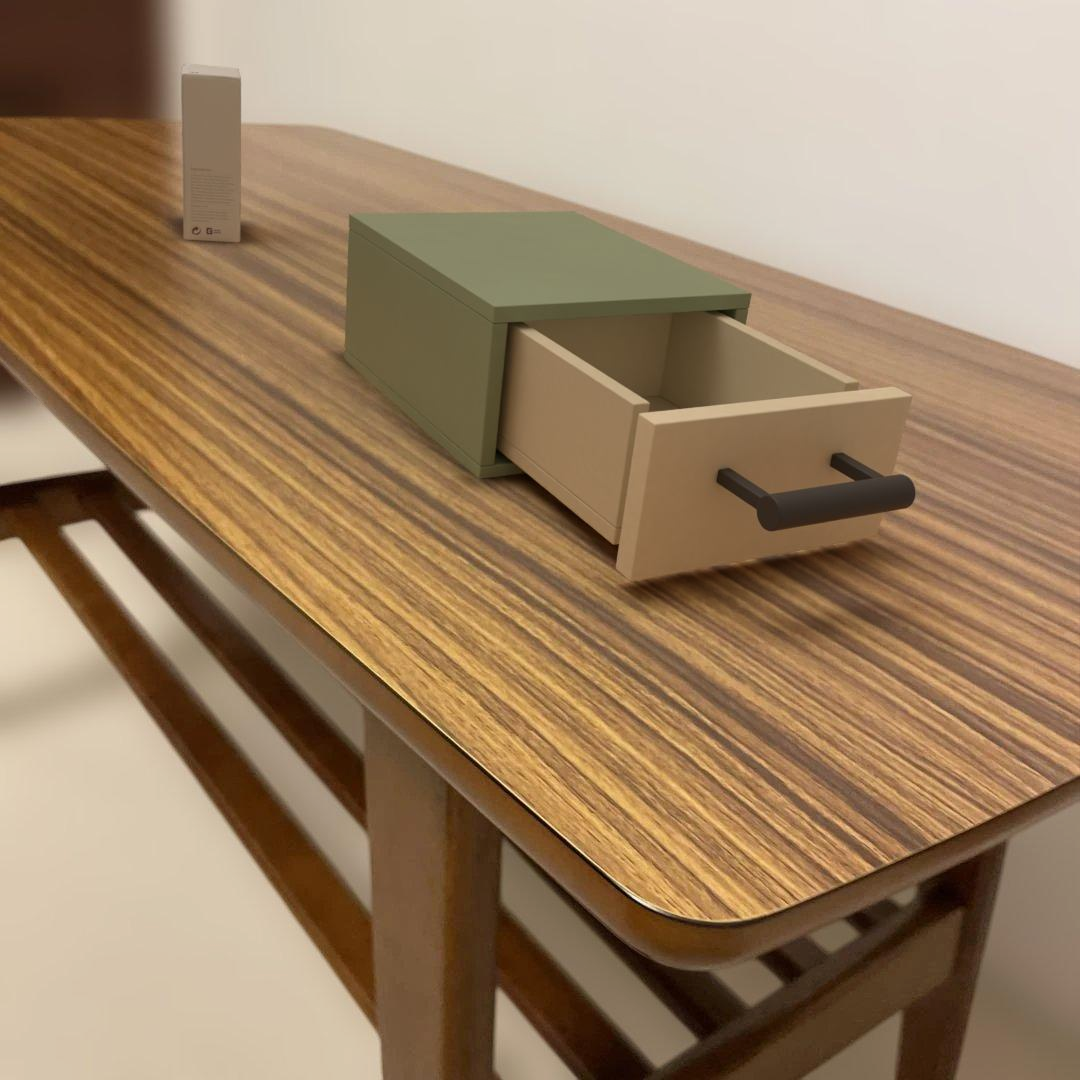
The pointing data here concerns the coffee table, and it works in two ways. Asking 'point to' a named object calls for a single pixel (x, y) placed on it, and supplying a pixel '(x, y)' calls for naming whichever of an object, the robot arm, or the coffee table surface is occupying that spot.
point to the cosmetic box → (211, 152)
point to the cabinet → (492, 306)
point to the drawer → (698, 438)
